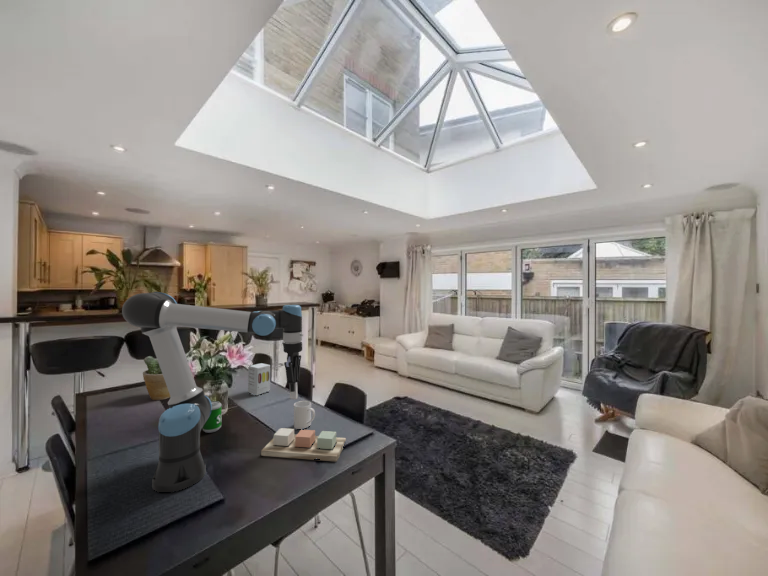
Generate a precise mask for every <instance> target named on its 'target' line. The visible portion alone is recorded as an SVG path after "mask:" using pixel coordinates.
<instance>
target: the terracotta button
mask: <svg viewBox="0 0 768 576" xmlns="http://www.w3.org/2000/svg"><path fill="white" fill-rule="evenodd" d="M298 431H299V432H298V433H297V434H296V436H295V447H298V448H307V449H311V447H312V446H313V445H312V444H313V442H314V441H315V436H316V430H315V429H304V430H302V429H301V430H298Z"/></svg>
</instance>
